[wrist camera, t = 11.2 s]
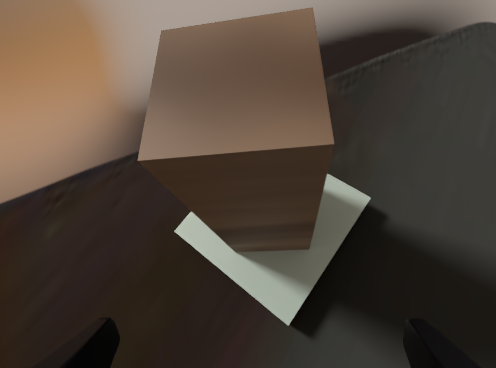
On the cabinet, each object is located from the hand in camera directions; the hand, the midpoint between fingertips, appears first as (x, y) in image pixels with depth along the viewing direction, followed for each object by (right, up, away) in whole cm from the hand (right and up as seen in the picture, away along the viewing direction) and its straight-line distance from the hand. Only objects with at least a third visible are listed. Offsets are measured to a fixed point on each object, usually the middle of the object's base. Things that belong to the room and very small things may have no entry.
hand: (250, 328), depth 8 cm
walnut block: (+1, +2, +11) cm, 11 cm away
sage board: (+2, +2, +13) cm, 13 cm away
